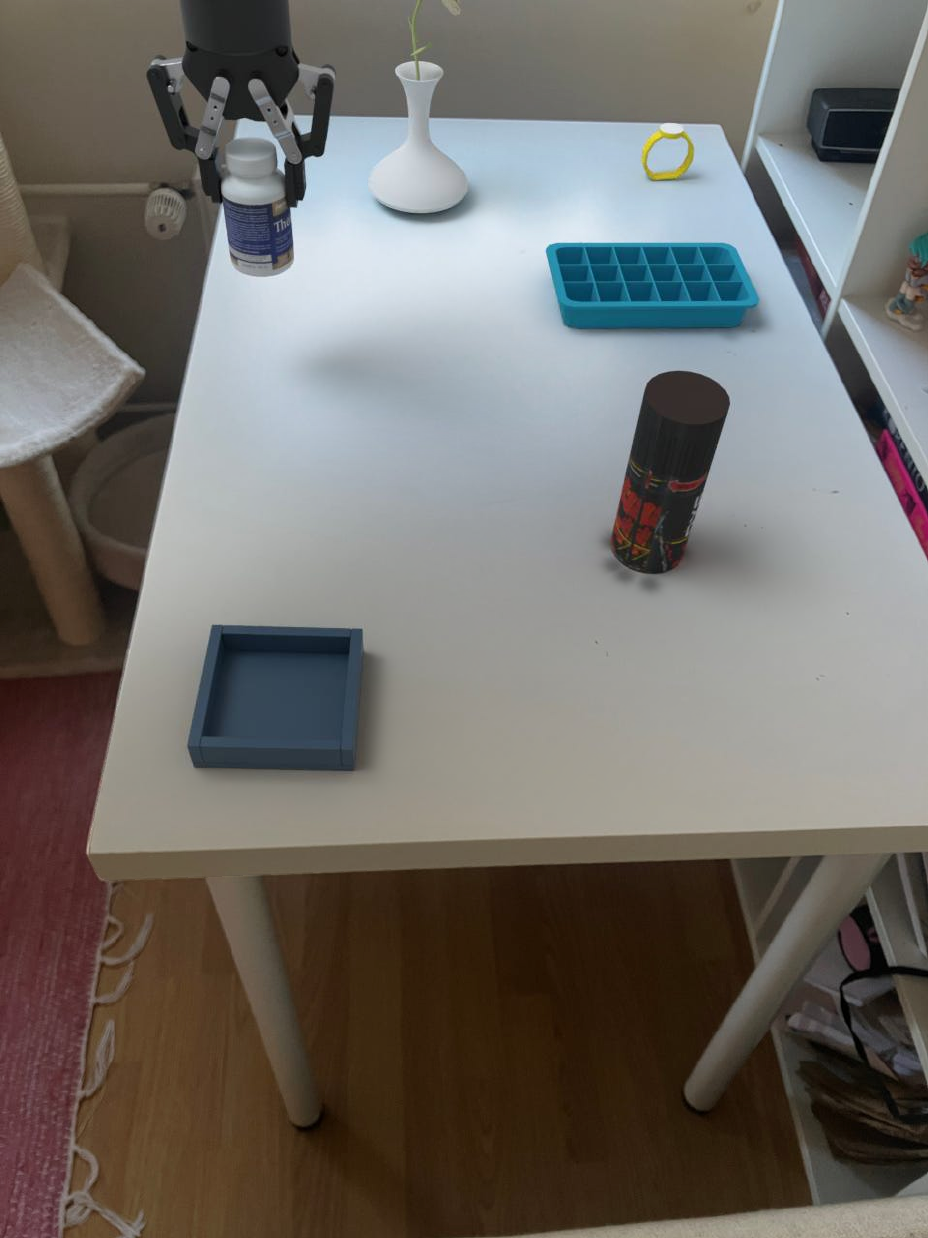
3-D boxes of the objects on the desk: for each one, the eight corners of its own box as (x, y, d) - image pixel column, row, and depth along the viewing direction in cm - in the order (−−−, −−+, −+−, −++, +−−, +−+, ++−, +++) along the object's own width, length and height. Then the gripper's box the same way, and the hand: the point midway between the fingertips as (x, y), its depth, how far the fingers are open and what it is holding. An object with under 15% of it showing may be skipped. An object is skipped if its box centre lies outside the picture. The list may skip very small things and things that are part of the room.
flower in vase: (467, 226, 112) (480, -30, 92) (364, 221, 111) (356, -36, 92) (468, 169, 120) (480, -76, 101) (372, 164, 120) (366, -82, 100)
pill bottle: (290, 281, 84) (280, 166, 76) (226, 277, 84) (209, 162, 76) (298, 247, 87) (289, 133, 80) (236, 243, 87) (221, 130, 80)
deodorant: (614, 514, 83) (648, 364, 72) (686, 527, 83) (731, 378, 71) (606, 566, 79) (640, 416, 68) (681, 579, 79) (728, 430, 67)
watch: (684, 171, 122) (695, 121, 117) (690, 182, 120) (701, 132, 116) (636, 172, 121) (645, 122, 117) (641, 183, 120) (651, 133, 115)
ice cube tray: (754, 331, 101) (762, 305, 99) (556, 333, 99) (560, 306, 97) (726, 268, 108) (733, 242, 106) (541, 268, 107) (544, 242, 104)
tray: (193, 767, 66) (186, 746, 64) (217, 646, 73) (211, 624, 71) (354, 771, 67) (352, 749, 65) (363, 650, 73) (362, 628, 71)
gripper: (111, -24, 66) (158, 220, 79) (331, -12, 66) (342, 229, 79) (135, -62, 71) (175, 174, 84) (340, -50, 71) (348, 182, 84)
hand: (256, 200), depth 81 cm, fingers closed on pill bottle, 5 cm apart
